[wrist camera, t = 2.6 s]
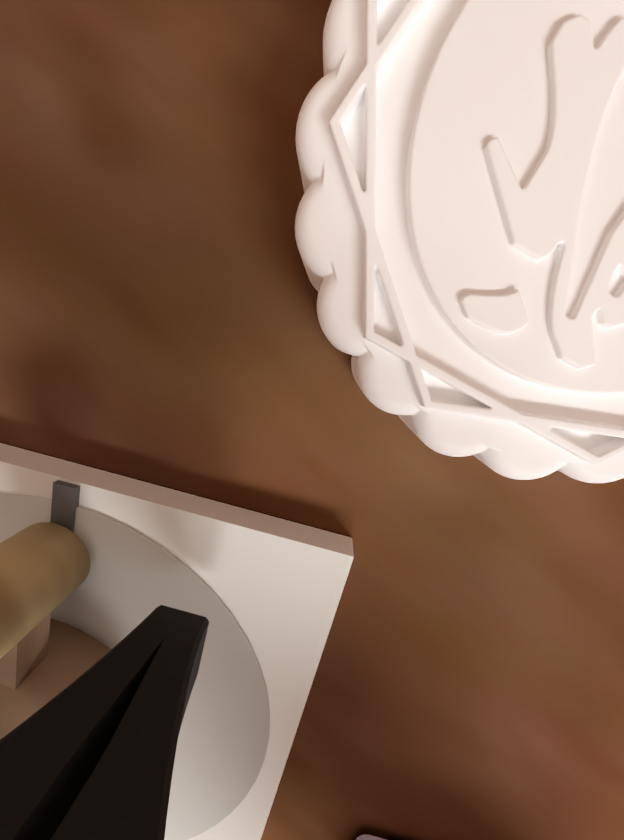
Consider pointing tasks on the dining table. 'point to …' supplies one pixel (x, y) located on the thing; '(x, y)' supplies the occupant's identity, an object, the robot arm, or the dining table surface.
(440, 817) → the dining table surface
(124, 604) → the board
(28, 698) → the dial
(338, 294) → the mooncake
